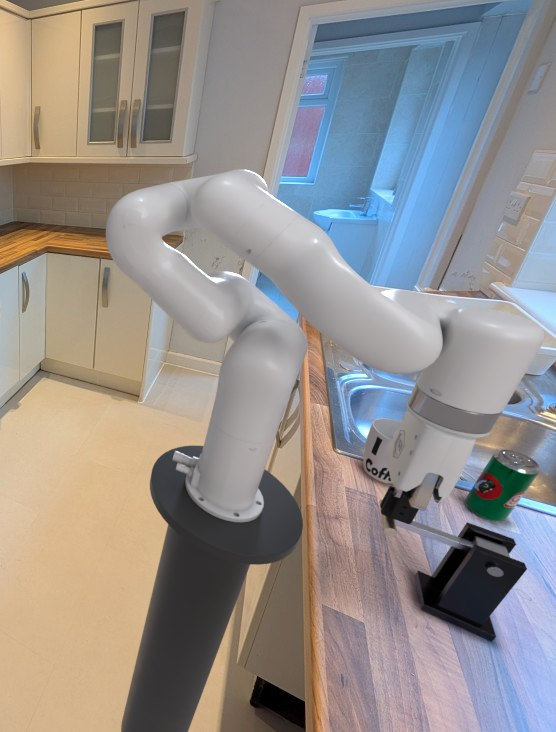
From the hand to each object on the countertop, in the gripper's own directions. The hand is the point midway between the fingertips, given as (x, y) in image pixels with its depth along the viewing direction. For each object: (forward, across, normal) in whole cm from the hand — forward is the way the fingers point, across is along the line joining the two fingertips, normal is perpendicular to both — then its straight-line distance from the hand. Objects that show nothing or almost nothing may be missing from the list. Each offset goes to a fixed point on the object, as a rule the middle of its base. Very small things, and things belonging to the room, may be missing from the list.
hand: (394, 515), depth 59 cm
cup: (+12, -26, +3) cm, 29 cm away
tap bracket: (+12, 0, +9) cm, 15 cm away
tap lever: (+2, 0, +5) cm, 5 cm away
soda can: (+12, -25, +17) cm, 33 cm away
